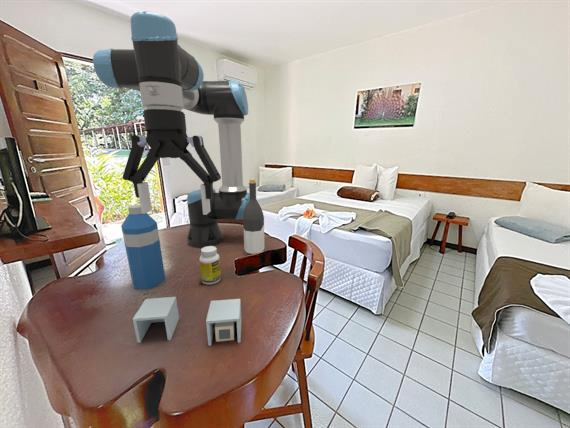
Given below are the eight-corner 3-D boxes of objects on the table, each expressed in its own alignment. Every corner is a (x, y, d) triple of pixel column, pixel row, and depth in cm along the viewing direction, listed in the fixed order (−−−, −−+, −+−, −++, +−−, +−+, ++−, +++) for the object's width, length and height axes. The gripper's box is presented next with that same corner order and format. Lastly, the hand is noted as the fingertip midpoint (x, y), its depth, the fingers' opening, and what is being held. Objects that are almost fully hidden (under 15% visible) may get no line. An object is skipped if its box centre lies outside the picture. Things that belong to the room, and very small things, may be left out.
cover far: (212, 323, 60) (210, 300, 58) (241, 320, 61) (240, 298, 59) (208, 345, 54) (205, 321, 52) (240, 342, 55) (239, 318, 53)
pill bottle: (215, 286, 76) (213, 254, 72) (197, 284, 77) (194, 252, 74) (224, 276, 81) (222, 245, 78) (207, 274, 83) (204, 244, 79)
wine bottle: (245, 248, 102) (242, 177, 94) (265, 248, 102) (263, 177, 94) (243, 257, 94) (239, 180, 86) (264, 257, 95) (262, 180, 86)
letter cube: (218, 329, 59) (217, 315, 58) (235, 327, 59) (234, 313, 58) (215, 342, 55) (214, 327, 54) (234, 340, 55) (233, 326, 54)
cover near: (149, 321, 61) (145, 298, 59) (179, 318, 62) (176, 296, 60) (137, 343, 54) (132, 318, 52) (170, 340, 55) (166, 316, 53)
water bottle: (171, 277, 80) (161, 204, 73) (145, 293, 72) (131, 212, 65) (152, 271, 84) (140, 201, 77) (125, 285, 76) (109, 208, 69)
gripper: (87, 107, 45) (110, 216, 51) (220, 107, 44) (227, 218, 50) (116, 111, 52) (133, 207, 58) (231, 112, 52) (236, 208, 58)
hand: (176, 212), depth 54 cm, fingers open, 13 cm apart
